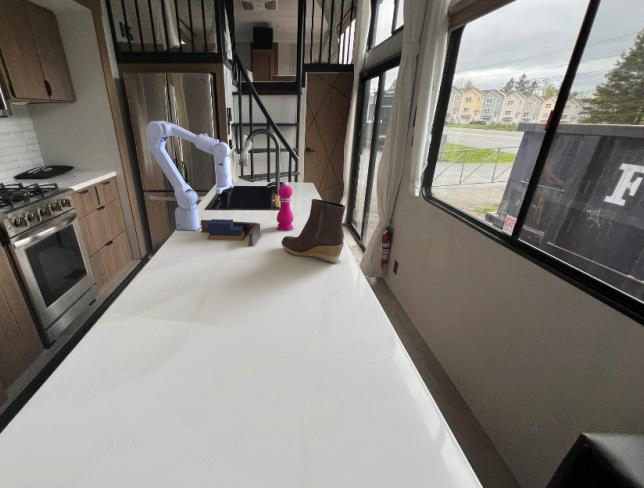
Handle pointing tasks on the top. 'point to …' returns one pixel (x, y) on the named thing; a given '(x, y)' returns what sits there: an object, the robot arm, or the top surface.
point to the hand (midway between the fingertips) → (225, 207)
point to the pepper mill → (285, 208)
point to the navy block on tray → (248, 227)
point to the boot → (320, 232)
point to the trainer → (225, 230)
